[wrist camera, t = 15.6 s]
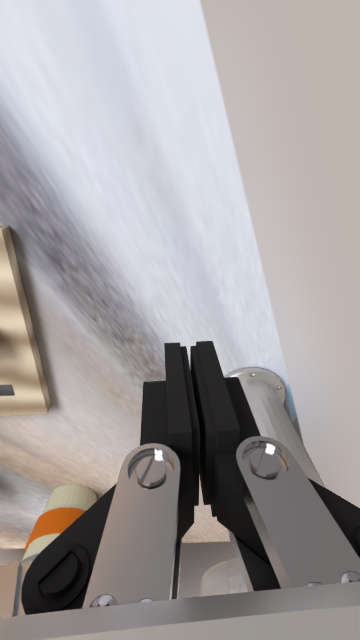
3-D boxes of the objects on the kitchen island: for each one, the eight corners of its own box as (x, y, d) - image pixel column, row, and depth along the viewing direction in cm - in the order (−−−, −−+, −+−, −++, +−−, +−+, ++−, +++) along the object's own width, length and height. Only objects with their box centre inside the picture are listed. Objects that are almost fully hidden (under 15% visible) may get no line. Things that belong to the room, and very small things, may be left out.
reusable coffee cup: (41, 475, 57) (8, 571, 44) (109, 480, 60) (97, 573, 47) (39, 514, 63) (10, 610, 50) (102, 518, 65) (89, 610, 52)
